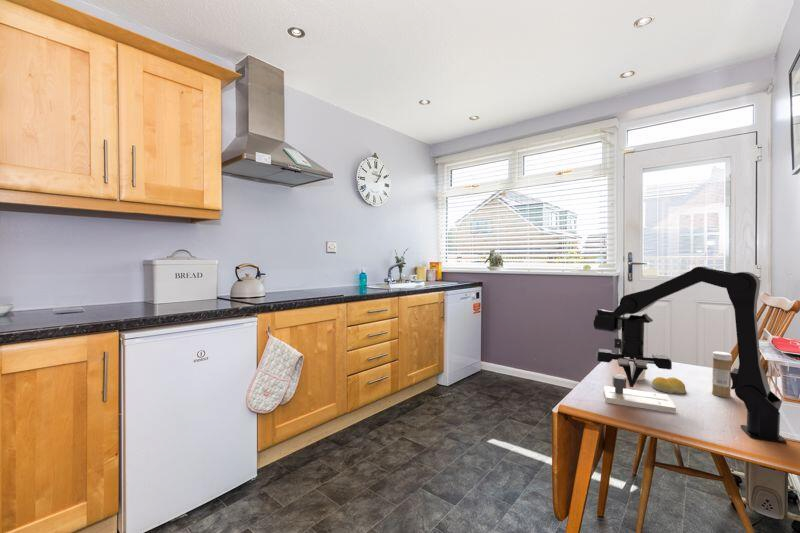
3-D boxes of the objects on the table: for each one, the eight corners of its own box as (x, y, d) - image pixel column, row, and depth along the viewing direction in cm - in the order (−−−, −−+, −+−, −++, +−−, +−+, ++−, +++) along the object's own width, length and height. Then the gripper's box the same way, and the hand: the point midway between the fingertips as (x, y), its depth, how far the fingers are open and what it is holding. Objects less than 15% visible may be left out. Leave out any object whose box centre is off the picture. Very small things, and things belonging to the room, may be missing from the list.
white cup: (627, 379, 130) (627, 359, 130) (621, 373, 137) (621, 354, 136) (649, 381, 128) (649, 361, 128) (642, 375, 135) (643, 356, 134)
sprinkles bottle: (732, 395, 115) (734, 353, 115) (727, 398, 112) (729, 355, 112) (714, 391, 119) (715, 350, 118) (709, 394, 116) (710, 352, 116)
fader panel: (676, 413, 102) (676, 407, 102) (606, 402, 109) (606, 397, 109) (667, 399, 112) (667, 394, 112) (603, 390, 119) (603, 385, 119)
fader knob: (625, 395, 110) (626, 379, 110) (613, 393, 111) (613, 377, 111) (624, 390, 114) (624, 375, 114) (612, 388, 115) (612, 373, 115)
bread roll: (648, 384, 126) (648, 372, 126) (678, 387, 123) (679, 375, 123) (657, 392, 118) (657, 380, 118) (690, 396, 115) (690, 383, 115)
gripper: (664, 333, 114) (663, 383, 114) (596, 328, 122) (595, 374, 122) (672, 340, 104) (671, 395, 104) (598, 334, 112) (596, 385, 112)
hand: (631, 386), depth 111 cm, fingers closed
